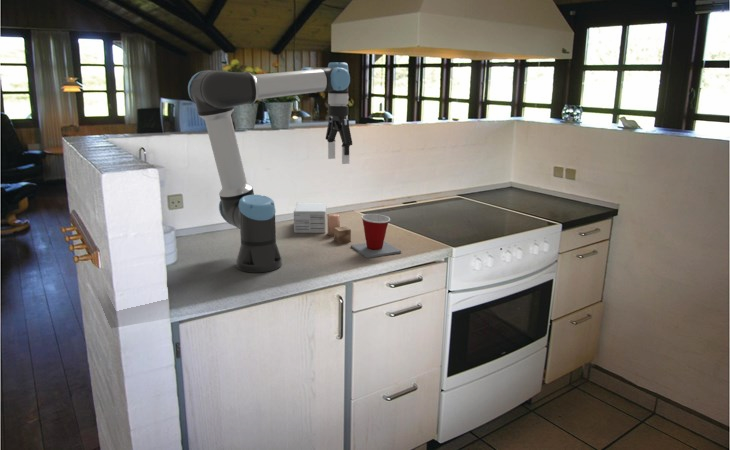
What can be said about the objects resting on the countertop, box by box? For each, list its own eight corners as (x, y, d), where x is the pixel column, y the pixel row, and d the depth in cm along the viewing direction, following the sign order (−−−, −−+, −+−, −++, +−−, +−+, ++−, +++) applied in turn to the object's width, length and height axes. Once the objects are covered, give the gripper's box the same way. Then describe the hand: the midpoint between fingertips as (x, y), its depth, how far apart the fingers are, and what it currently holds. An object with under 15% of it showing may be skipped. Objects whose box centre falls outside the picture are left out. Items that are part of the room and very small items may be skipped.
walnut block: (339, 243, 213) (338, 231, 212) (334, 239, 218) (334, 227, 216) (350, 241, 215) (350, 229, 214) (345, 238, 220) (345, 226, 218)
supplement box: (325, 233, 227) (325, 211, 224) (293, 233, 226) (293, 211, 224) (326, 222, 243) (326, 202, 240) (296, 222, 242) (296, 201, 240)
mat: (367, 258, 196) (367, 255, 196) (350, 247, 208) (350, 245, 208) (401, 253, 202) (401, 250, 202) (383, 242, 214) (383, 240, 214)
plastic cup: (387, 253, 199) (388, 221, 196) (358, 251, 201) (358, 219, 198) (391, 244, 209) (392, 214, 206) (364, 242, 211) (364, 212, 208)
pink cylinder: (330, 236, 222) (330, 217, 220) (325, 233, 226) (325, 214, 224) (341, 234, 224) (341, 215, 222) (336, 231, 228) (336, 213, 226)
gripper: (361, 106, 198) (361, 165, 204) (334, 103, 219) (334, 156, 225) (342, 107, 195) (342, 166, 200) (317, 103, 216) (317, 157, 222)
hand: (338, 161), depth 213 cm, fingers open, 13 cm apart
